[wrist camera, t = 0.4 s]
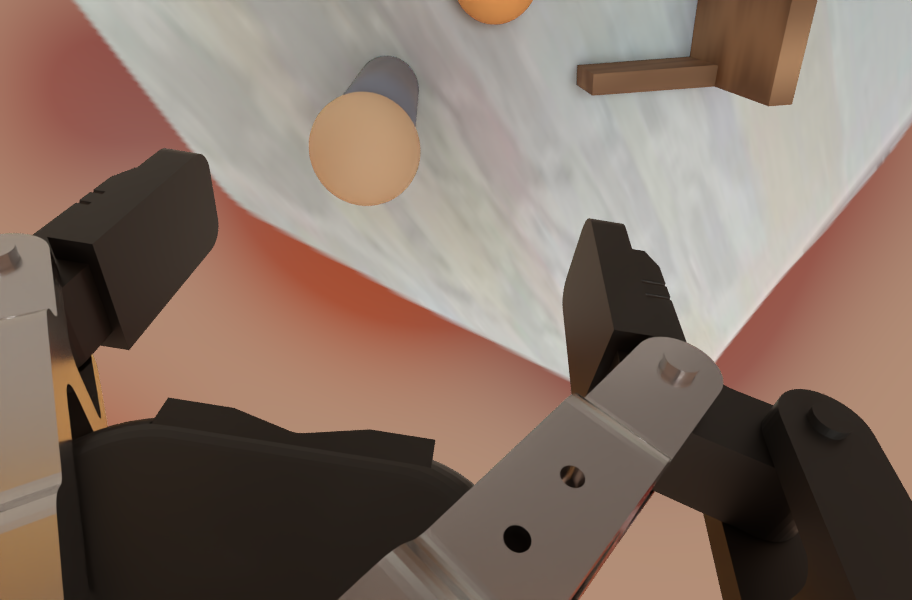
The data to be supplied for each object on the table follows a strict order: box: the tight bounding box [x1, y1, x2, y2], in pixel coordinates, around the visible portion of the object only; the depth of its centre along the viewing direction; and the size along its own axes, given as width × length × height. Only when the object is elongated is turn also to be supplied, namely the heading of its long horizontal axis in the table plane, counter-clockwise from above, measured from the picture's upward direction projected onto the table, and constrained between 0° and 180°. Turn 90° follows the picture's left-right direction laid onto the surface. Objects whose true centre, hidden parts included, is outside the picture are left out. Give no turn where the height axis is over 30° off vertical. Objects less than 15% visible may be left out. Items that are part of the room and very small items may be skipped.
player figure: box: [309, 56, 420, 206], centre depth 28 cm, size 5×5×17 cm
